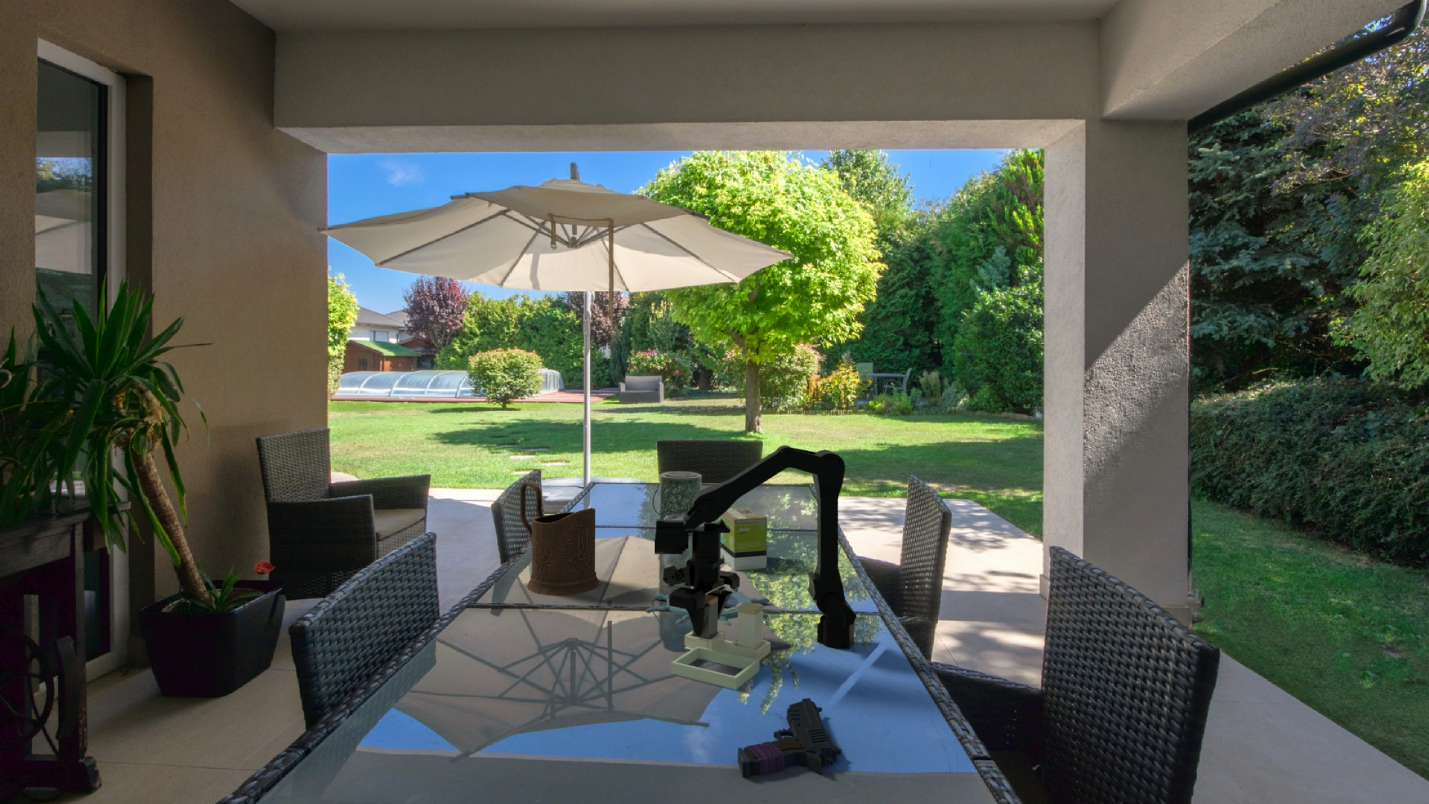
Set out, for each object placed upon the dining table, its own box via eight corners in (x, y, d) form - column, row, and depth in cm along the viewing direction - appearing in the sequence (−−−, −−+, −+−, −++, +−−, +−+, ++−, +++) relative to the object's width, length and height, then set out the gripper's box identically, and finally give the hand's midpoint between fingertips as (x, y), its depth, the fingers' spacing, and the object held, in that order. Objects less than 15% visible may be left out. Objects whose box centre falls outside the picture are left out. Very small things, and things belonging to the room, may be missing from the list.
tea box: (716, 557, 223) (717, 507, 222) (749, 555, 226) (750, 506, 225) (733, 571, 208) (734, 517, 207) (767, 568, 211) (768, 516, 210)
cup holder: (565, 600, 181) (566, 496, 180) (495, 584, 193) (495, 486, 192) (615, 582, 197) (615, 486, 195) (546, 567, 209) (547, 477, 208)
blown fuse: (717, 642, 152) (717, 596, 152) (708, 648, 149) (708, 601, 148) (701, 639, 154) (702, 593, 153) (692, 645, 151) (693, 598, 150)
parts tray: (759, 676, 138) (759, 660, 138) (735, 695, 130) (736, 678, 130) (696, 661, 145) (697, 646, 145) (670, 678, 137) (671, 662, 137)
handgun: (730, 715, 125) (821, 713, 125) (740, 782, 105) (848, 779, 105) (730, 698, 124) (821, 696, 125) (740, 762, 104) (848, 759, 105)
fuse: (762, 652, 147) (763, 604, 147) (754, 658, 144) (754, 610, 144) (745, 649, 149) (746, 601, 148) (737, 655, 146) (738, 606, 145)
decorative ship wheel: (793, 589, 182) (739, 627, 156) (793, 603, 182) (739, 643, 156) (685, 572, 196) (618, 604, 170) (685, 584, 196) (618, 618, 170)
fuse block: (773, 655, 149) (773, 640, 148) (755, 669, 142) (755, 653, 141) (701, 639, 156) (701, 625, 156) (681, 652, 149) (681, 637, 149)
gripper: (695, 539, 162) (694, 611, 163) (645, 558, 146) (645, 638, 147) (741, 546, 157) (740, 620, 158) (695, 567, 141) (694, 649, 142)
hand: (705, 631), depth 151 cm, fingers open, 5 cm apart
